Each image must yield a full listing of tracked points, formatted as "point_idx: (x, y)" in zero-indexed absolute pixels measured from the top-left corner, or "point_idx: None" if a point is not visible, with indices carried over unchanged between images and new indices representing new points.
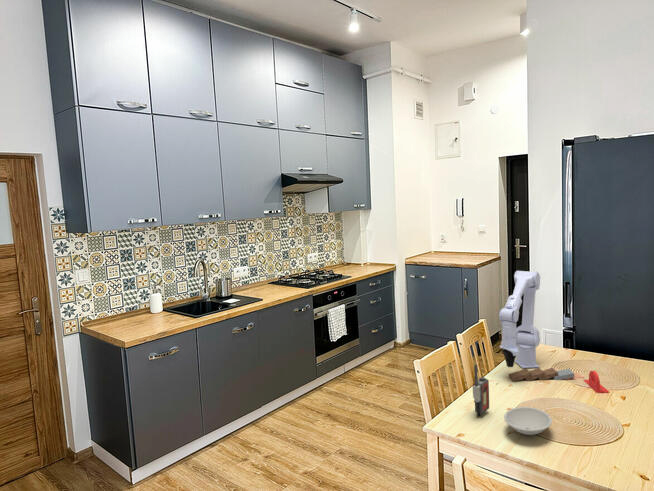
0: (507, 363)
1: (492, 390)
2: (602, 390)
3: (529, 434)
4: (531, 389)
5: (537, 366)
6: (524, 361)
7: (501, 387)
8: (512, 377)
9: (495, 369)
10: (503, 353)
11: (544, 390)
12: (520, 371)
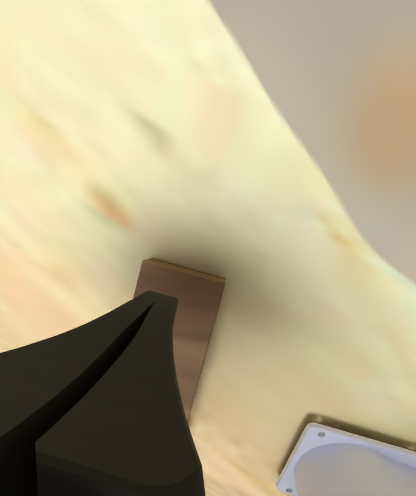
0: (123, 304)
1: (39, 18)
2: None
3: None
4: (37, 281)
5: (280, 482)
6: (329, 480)
7: (83, 127)
8: (157, 270)
9: (402, 282)
10: (136, 411)
11: (22, 326)
12: (185, 360)
